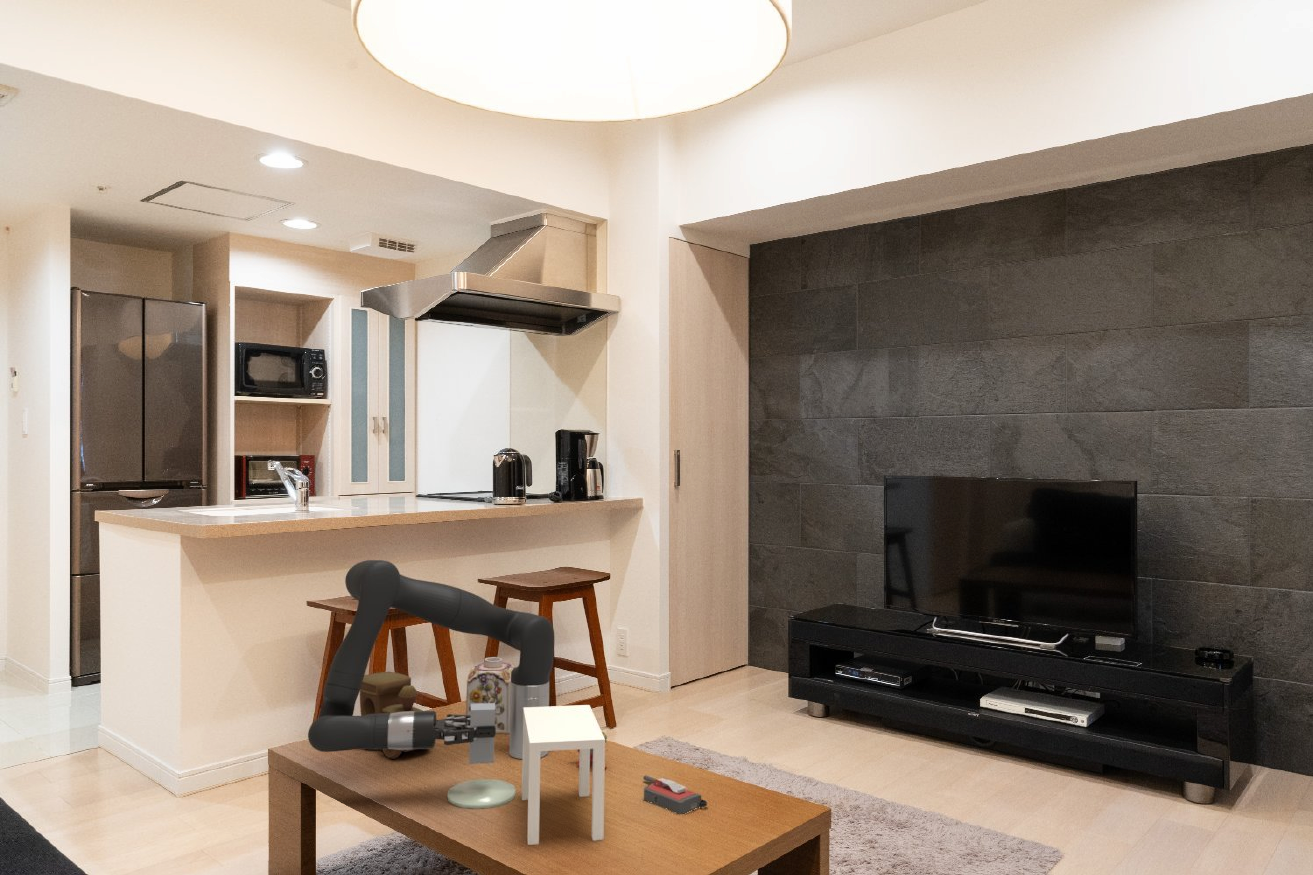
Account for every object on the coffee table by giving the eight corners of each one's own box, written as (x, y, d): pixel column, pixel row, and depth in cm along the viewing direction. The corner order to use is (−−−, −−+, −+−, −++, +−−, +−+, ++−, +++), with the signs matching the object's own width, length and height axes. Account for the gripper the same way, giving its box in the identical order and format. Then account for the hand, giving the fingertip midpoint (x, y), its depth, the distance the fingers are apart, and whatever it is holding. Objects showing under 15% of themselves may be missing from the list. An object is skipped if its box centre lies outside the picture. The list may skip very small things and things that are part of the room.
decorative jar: (475, 720, 244) (476, 653, 244) (518, 721, 243) (519, 654, 244) (464, 733, 232) (465, 663, 232) (509, 734, 231) (510, 664, 232)
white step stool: (527, 844, 166) (529, 742, 166) (521, 796, 189) (523, 707, 190) (603, 839, 168) (605, 739, 169) (588, 792, 192) (589, 704, 192)
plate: (477, 779, 199) (477, 774, 199) (528, 791, 192) (528, 786, 192) (433, 800, 186) (433, 795, 187) (486, 813, 180) (486, 808, 180)
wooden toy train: (350, 745, 221) (351, 677, 221) (390, 734, 230) (391, 669, 230) (397, 764, 208) (399, 691, 209) (438, 752, 217) (440, 682, 217)
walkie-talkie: (714, 807, 186) (647, 781, 200) (714, 786, 186) (647, 761, 200) (684, 819, 180) (617, 791, 194) (685, 796, 180) (618, 770, 194)
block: (469, 755, 191) (471, 703, 192) (493, 754, 192) (494, 703, 193) (469, 763, 186) (470, 710, 187) (493, 762, 187) (495, 709, 188)
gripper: (410, 721, 180) (496, 719, 183) (415, 702, 194) (495, 700, 197) (408, 759, 180) (495, 756, 183) (413, 737, 194) (494, 735, 197)
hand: (495, 727), depth 190 cm, fingers closed on block, 5 cm apart
